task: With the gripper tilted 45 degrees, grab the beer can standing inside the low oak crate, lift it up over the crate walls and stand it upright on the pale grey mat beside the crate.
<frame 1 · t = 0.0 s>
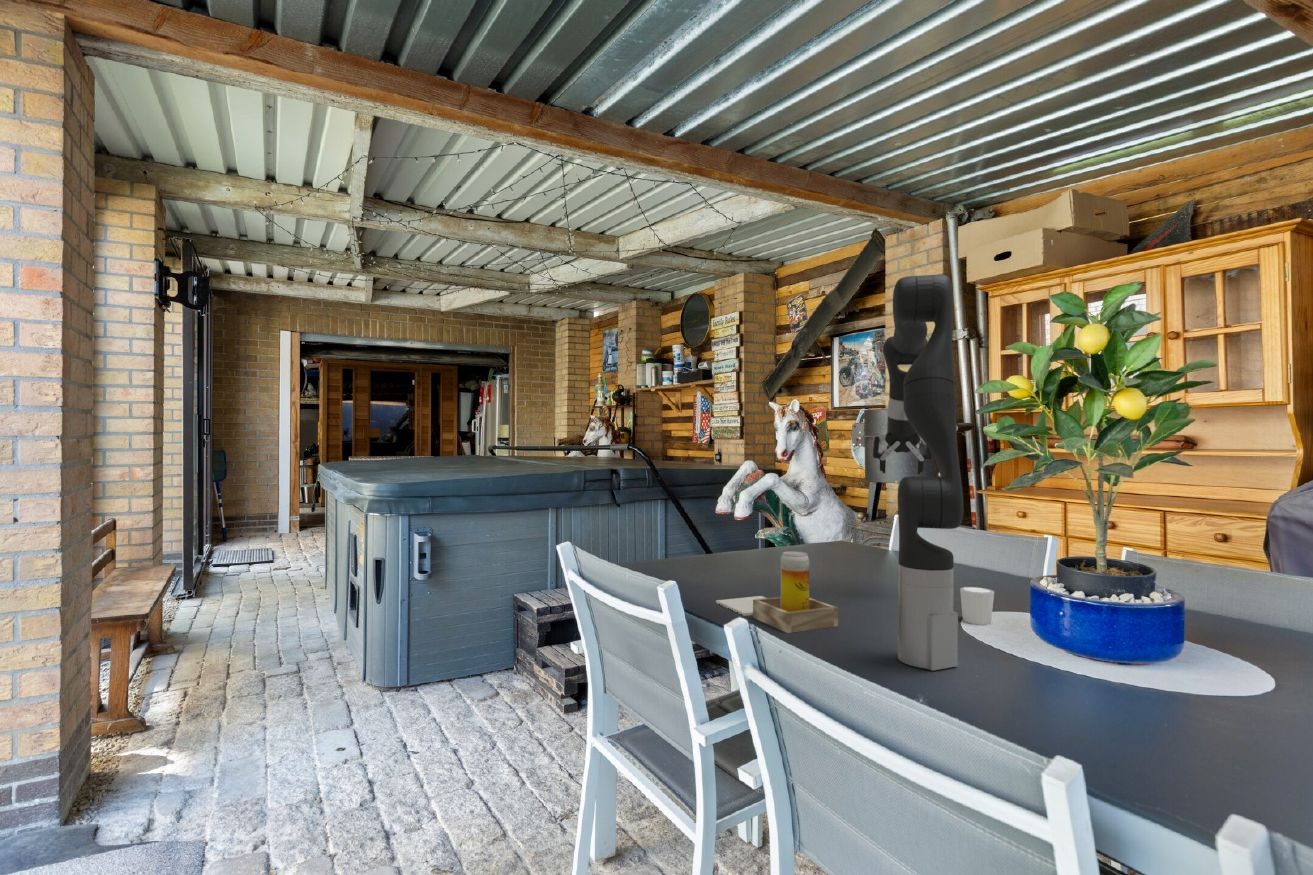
hand: (901, 472, 176), 31 cm above the table, tool tilted 20°, fingers open, 8 cm apart
white cup: (976, 622, 149), on the table
crate: (794, 621, 147), on the table
beer can: (794, 622, 147), resting in crate
mat: (753, 606, 161), on the table
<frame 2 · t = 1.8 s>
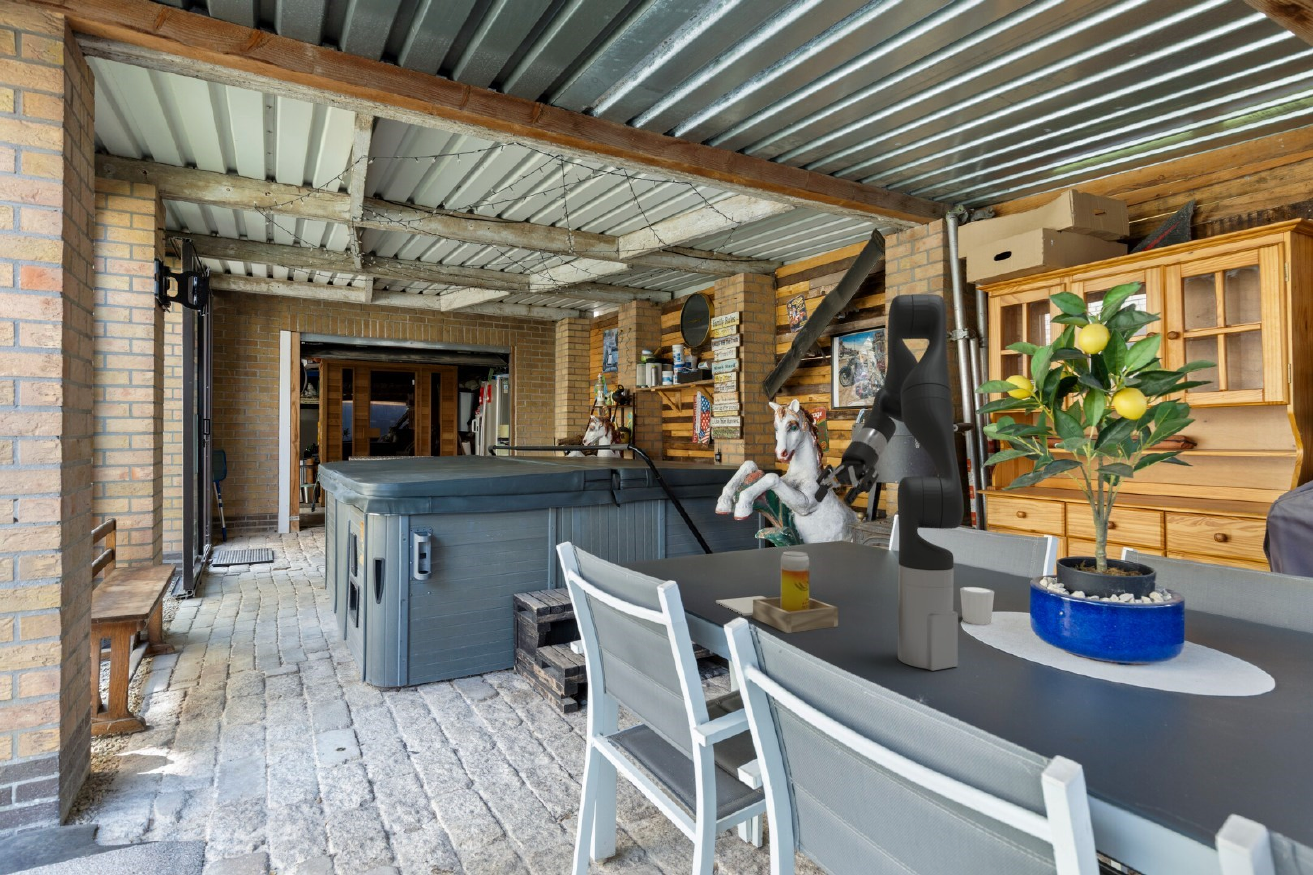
hand: (831, 501, 154), 26 cm above the table, tool tilted 45°, fingers open, 8 cm apart
nothing on the table moved.
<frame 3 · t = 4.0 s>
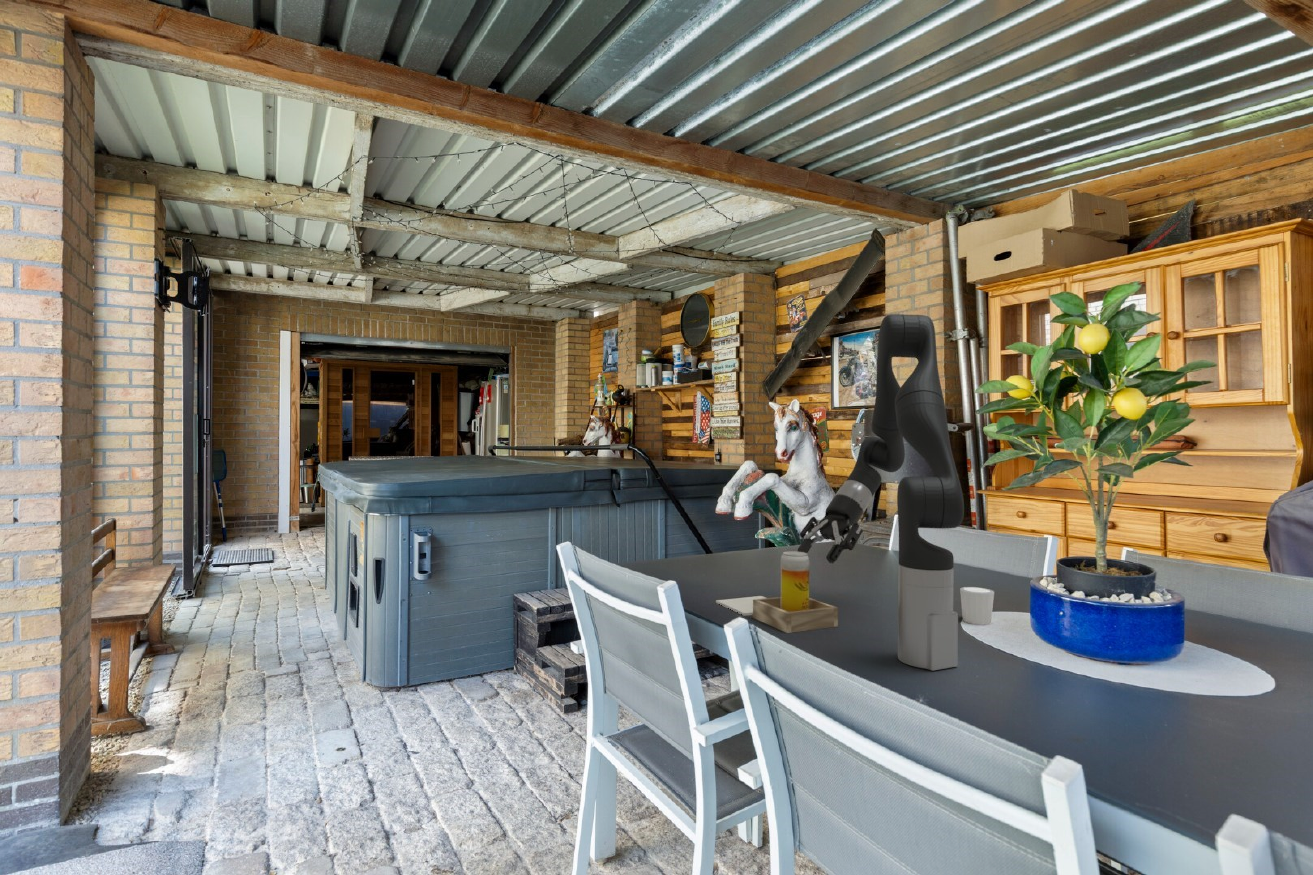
hand: (814, 557, 151), 13 cm above the table, tool tilted 45°, fingers open, 8 cm apart
nothing on the table moved.
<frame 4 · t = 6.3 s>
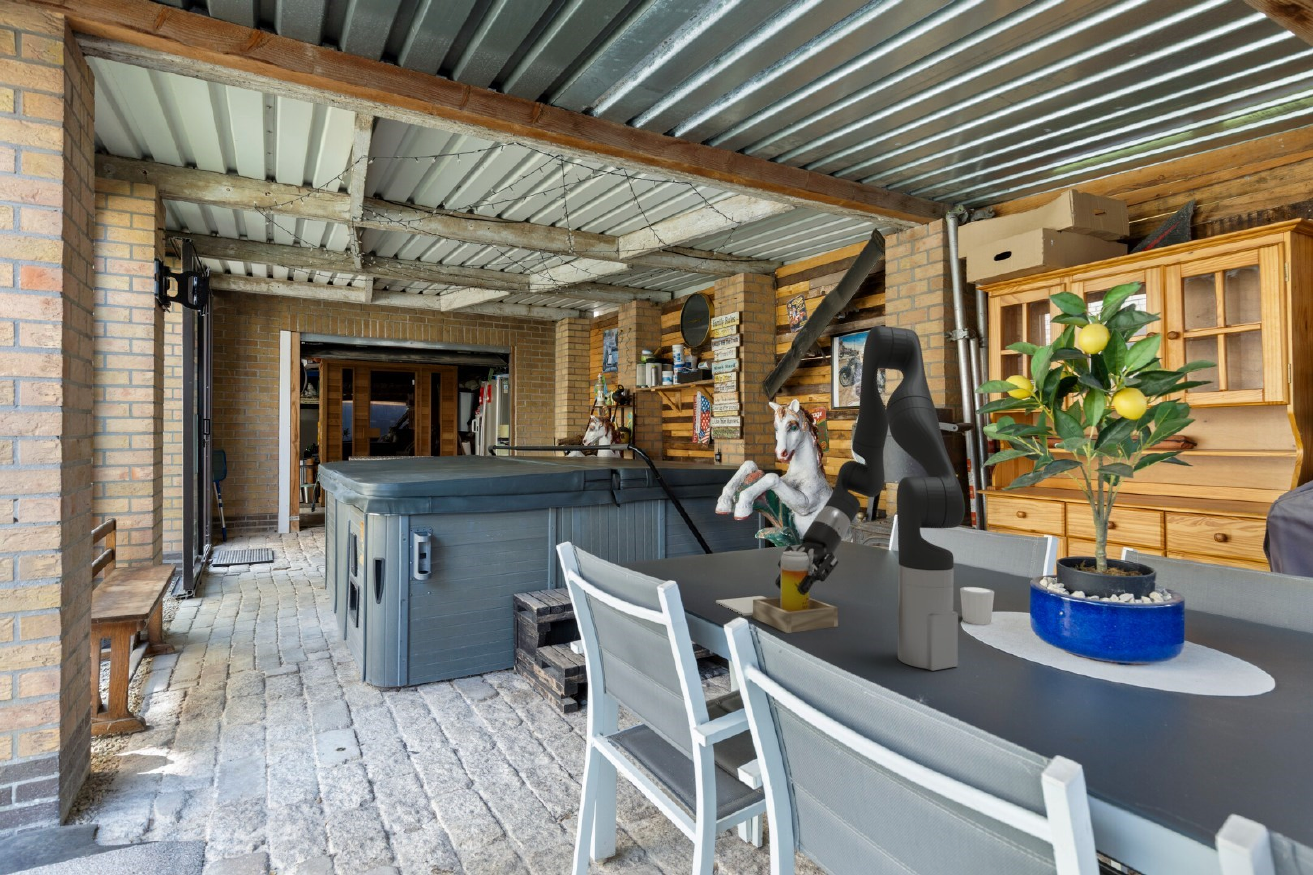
hand: (789, 589, 146), 7 cm above the table, tool tilted 45°, fingers closed on beer can, 6 cm apart
beer can: (794, 622, 147), resting in crate, touching gripper
everything else where it was.
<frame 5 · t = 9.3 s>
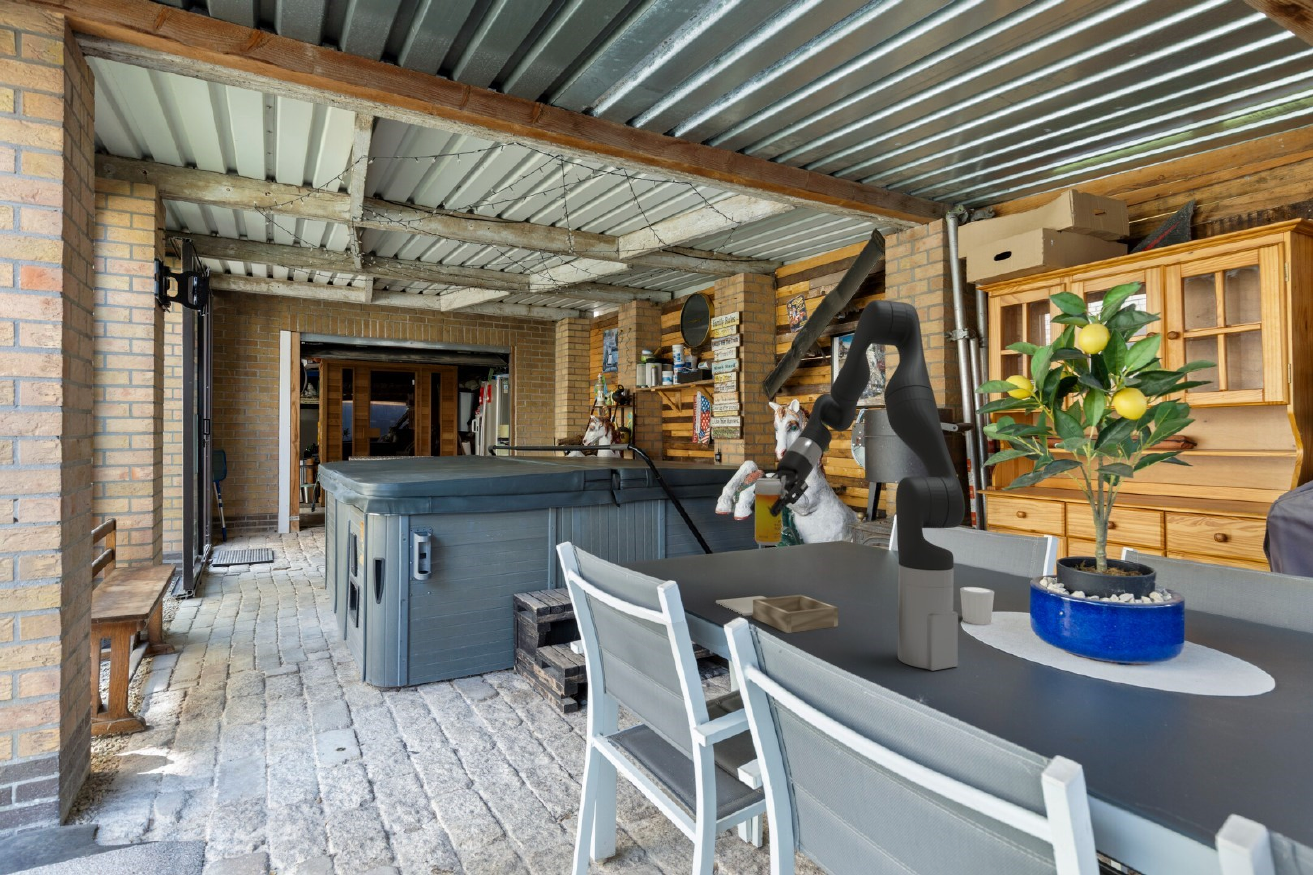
hand: (762, 512, 156), 23 cm above the table, tool tilted 45°, fingers closed on beer can, 6 cm apart
beer can: (767, 544, 157), point 15 cm above the table, touching gripper
everything else where it was.
when the fingers open (9 cm above the table, at t = 12.7 s): beer can drops 1 cm, resting on mat.
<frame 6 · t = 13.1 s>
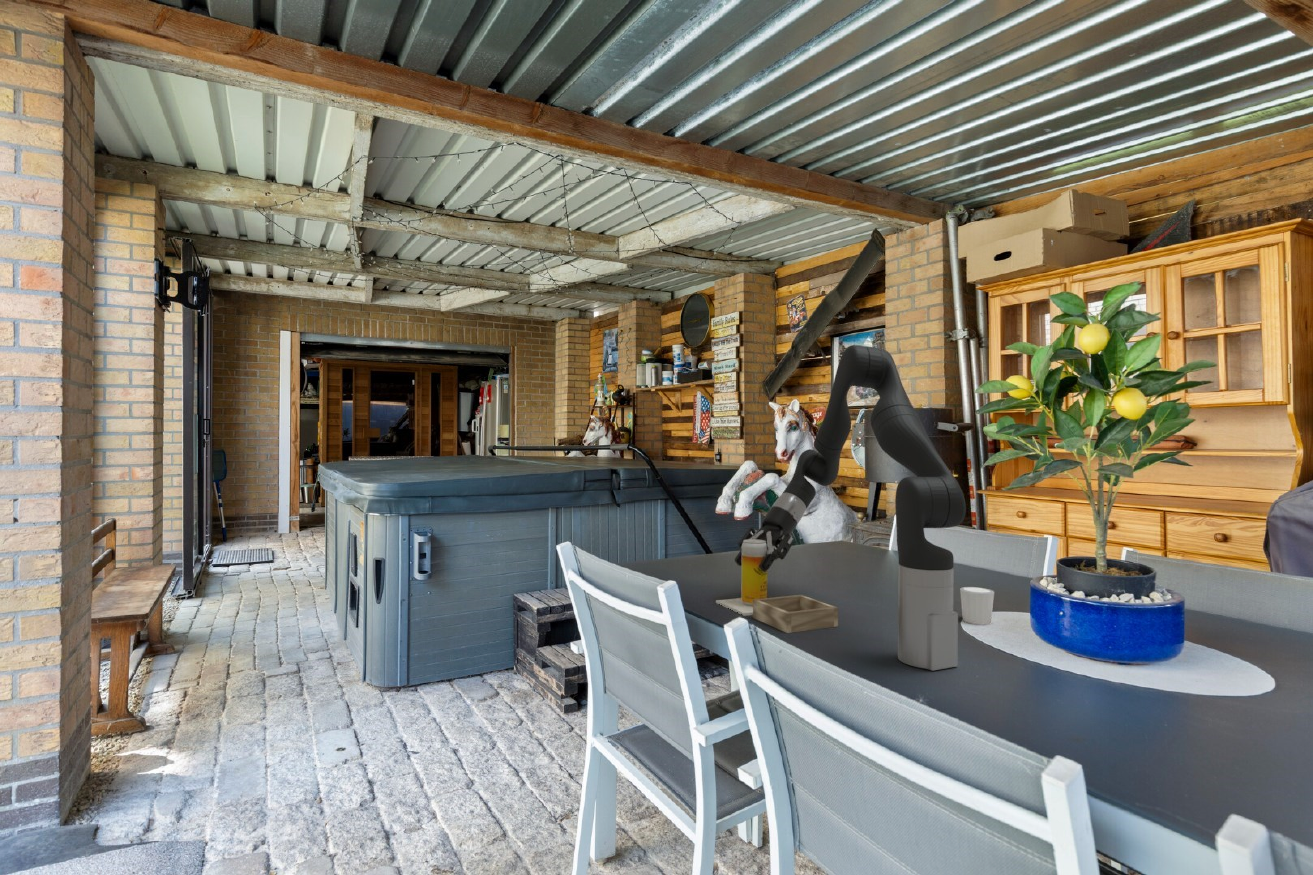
hand: (749, 566, 160), 10 cm above the table, tool tilted 45°, fingers open, 8 cm apart
beer can: (754, 604, 161), resting on mat
everything else where it was.
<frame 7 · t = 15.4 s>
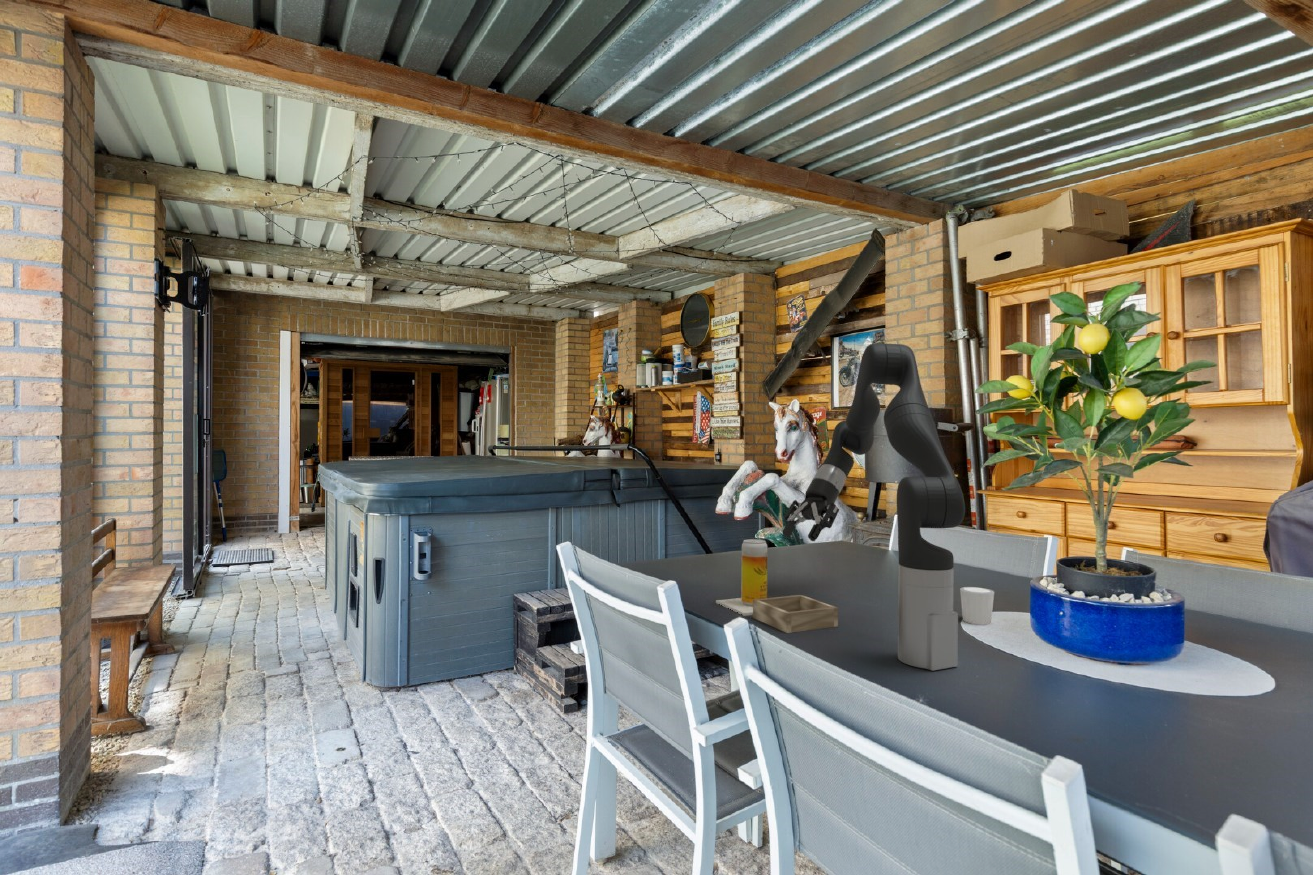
hand: (797, 537, 167), 16 cm above the table, tool tilted 40°, fingers open, 8 cm apart
nothing on the table moved.
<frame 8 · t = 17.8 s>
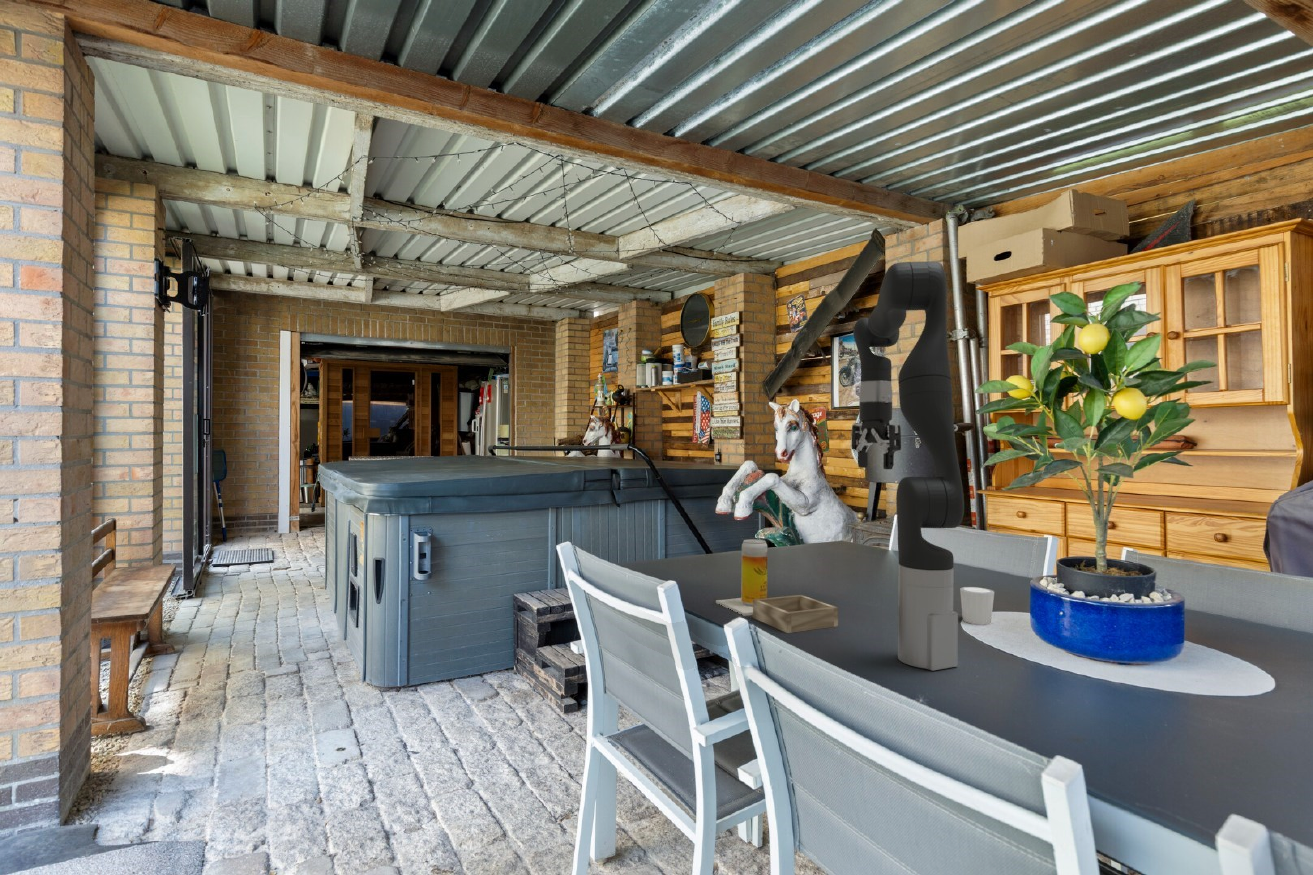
hand: (875, 468, 162), 33 cm above the table, tool pointing down, fingers open, 8 cm apart
nothing on the table moved.
at the end: beer can inside the target area on the mat (0.2 cm from its centre), point 0.4 cm above the mat's base; beer can tilted 0°; the gripper is holding nothing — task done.
